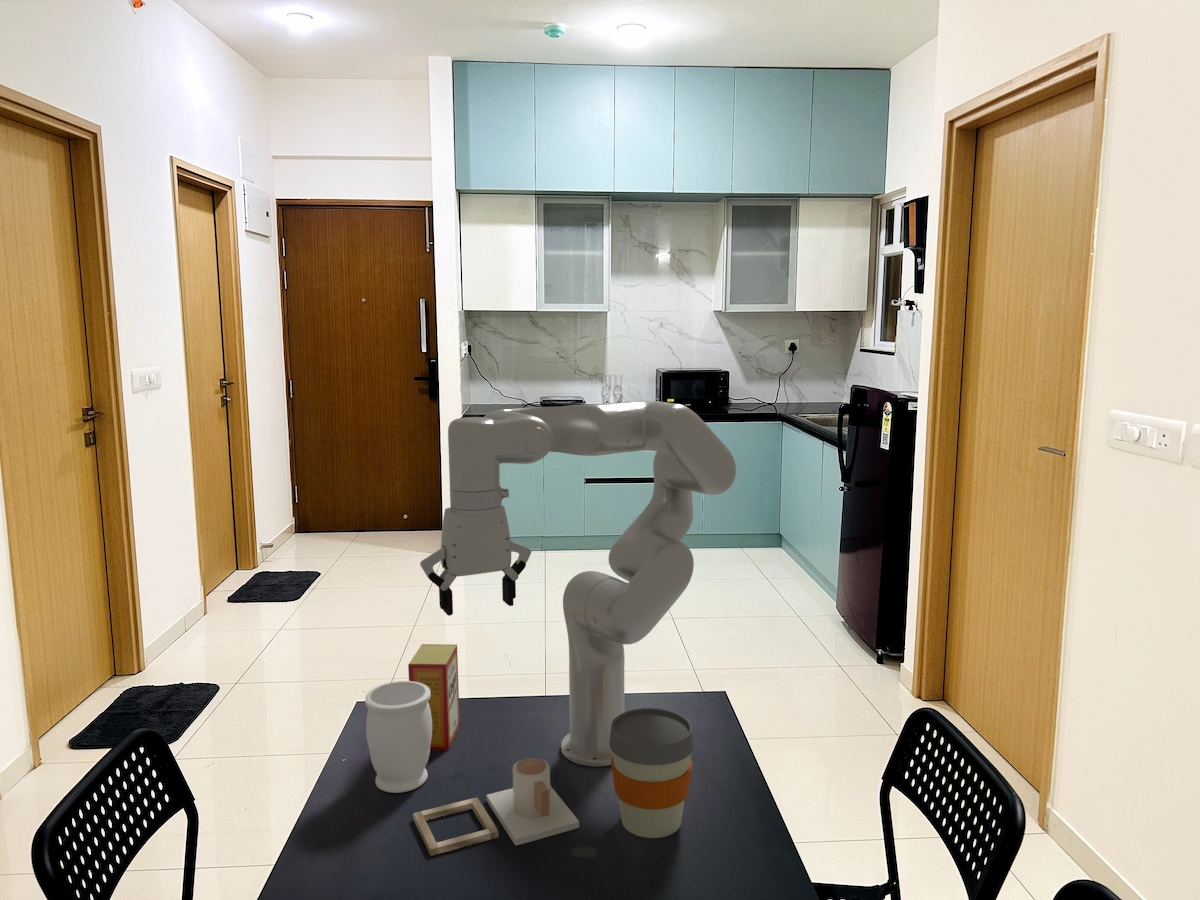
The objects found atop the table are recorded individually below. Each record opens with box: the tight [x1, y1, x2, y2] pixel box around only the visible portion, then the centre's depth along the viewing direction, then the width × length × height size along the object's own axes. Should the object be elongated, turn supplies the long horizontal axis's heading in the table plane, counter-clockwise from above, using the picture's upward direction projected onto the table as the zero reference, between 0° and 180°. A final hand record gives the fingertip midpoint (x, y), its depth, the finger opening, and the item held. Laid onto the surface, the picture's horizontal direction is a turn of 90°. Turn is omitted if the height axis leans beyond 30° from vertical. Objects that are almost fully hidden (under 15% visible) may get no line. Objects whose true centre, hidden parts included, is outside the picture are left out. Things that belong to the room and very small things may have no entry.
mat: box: [486, 785, 580, 846], centre depth 131 cm, size 10×13×1 cm
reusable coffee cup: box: [609, 707, 695, 839], centre depth 128 cm, size 13×12×15 cm
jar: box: [364, 680, 432, 794], centre depth 140 cm, size 11×10×15 cm
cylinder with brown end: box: [512, 757, 551, 818], centre depth 129 cm, size 8×6×7 cm
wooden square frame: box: [412, 797, 499, 857], centre depth 128 cm, size 10×10×1 cm
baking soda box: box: [407, 643, 461, 751], centre depth 154 cm, size 10×6×16 cm
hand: (478, 608), depth 133 cm, fingers open, 9 cm apart
